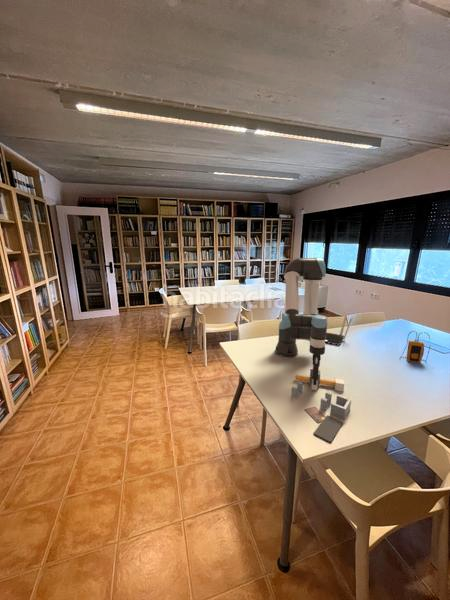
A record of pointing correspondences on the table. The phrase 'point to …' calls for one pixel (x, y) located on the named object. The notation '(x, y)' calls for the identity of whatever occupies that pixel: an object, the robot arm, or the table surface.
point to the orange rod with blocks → (322, 381)
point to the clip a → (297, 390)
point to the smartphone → (328, 429)
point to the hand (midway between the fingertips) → (314, 383)
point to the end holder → (341, 407)
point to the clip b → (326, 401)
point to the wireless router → (335, 337)
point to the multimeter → (415, 350)
